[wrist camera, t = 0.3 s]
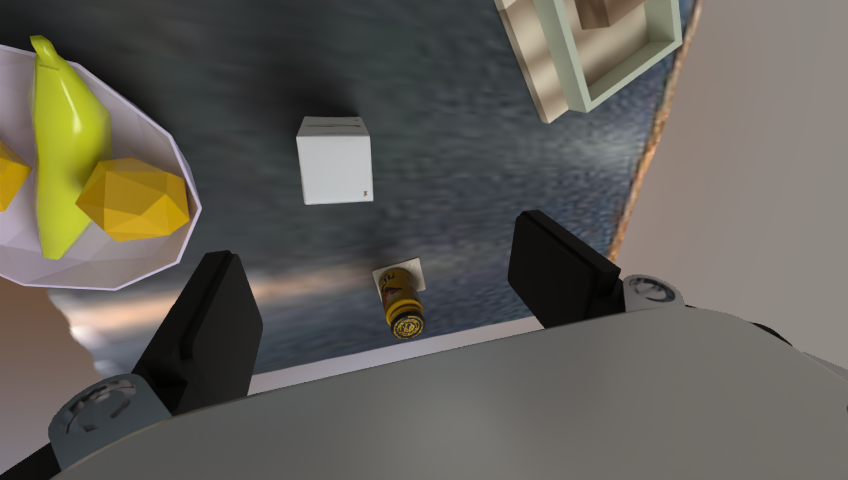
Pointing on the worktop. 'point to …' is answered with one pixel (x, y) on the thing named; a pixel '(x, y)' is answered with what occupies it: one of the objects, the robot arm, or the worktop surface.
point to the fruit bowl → (84, 179)
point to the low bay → (578, 97)
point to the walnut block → (603, 12)
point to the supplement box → (335, 160)
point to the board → (593, 47)
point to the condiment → (402, 297)
